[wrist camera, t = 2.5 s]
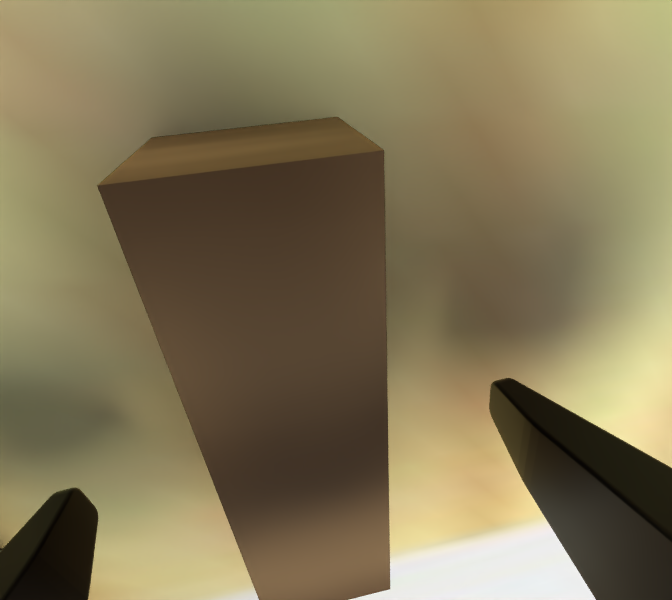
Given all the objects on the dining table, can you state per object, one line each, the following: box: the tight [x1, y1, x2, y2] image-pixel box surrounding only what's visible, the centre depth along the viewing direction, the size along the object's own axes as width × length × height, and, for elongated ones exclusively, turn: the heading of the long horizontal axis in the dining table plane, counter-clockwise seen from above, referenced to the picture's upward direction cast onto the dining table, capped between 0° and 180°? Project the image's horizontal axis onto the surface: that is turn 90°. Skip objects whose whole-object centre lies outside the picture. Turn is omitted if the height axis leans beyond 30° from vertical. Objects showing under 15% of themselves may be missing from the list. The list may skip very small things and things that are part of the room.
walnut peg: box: [97, 117, 390, 600], centre depth 10 cm, size 12×4×4 cm, turn 4°
